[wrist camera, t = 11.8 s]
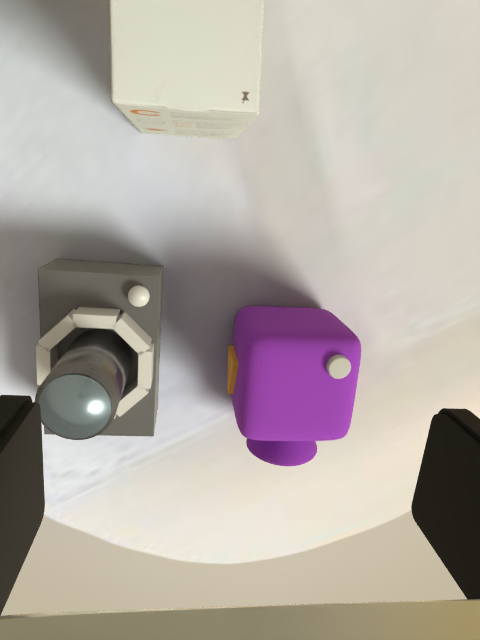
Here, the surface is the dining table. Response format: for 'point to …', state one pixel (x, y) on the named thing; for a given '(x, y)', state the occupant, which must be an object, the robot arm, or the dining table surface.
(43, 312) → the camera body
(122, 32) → the small box
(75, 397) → the lens
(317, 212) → the dining table surface
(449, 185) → the dining table surface
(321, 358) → the toy camera
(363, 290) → the dining table surface
